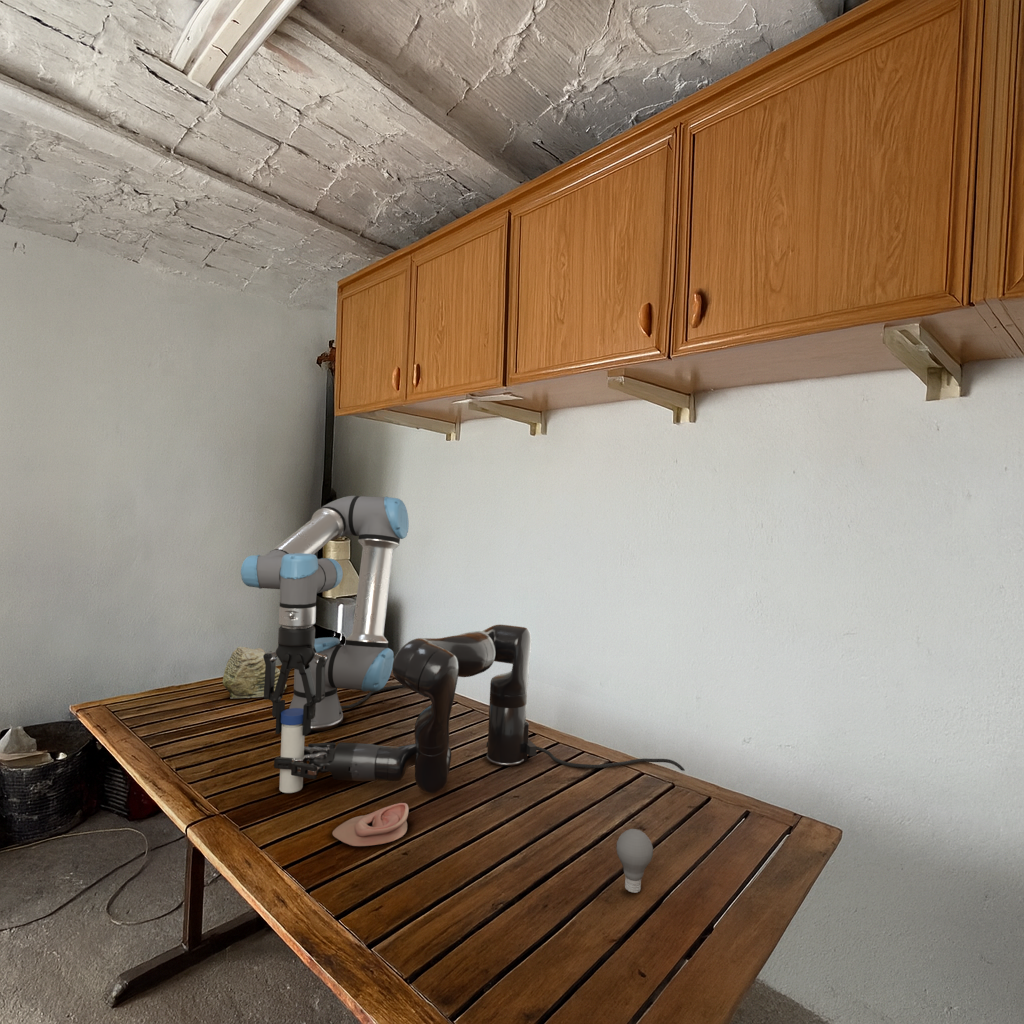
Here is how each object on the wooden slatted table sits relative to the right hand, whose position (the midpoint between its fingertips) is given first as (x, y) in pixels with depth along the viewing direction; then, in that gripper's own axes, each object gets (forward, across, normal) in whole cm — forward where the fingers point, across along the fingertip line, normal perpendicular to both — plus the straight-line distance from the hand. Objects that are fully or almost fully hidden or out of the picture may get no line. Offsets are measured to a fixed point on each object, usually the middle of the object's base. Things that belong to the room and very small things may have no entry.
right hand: (280, 757), depth 137 cm
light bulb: (-72, +30, +6) cm, 78 cm away
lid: (-3, 0, -10) cm, 10 cm away
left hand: (-3, 0, -6) cm, 6 cm away
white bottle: (-3, 0, +6) cm, 7 cm away
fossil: (+32, -60, +6) cm, 68 cm away
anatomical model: (-24, +16, +6) cm, 30 cm away
